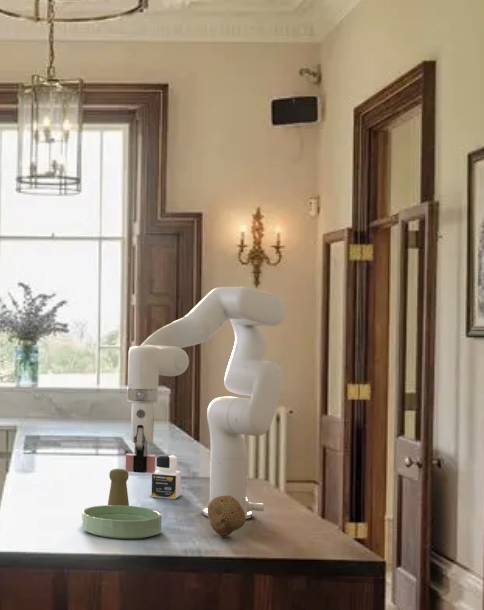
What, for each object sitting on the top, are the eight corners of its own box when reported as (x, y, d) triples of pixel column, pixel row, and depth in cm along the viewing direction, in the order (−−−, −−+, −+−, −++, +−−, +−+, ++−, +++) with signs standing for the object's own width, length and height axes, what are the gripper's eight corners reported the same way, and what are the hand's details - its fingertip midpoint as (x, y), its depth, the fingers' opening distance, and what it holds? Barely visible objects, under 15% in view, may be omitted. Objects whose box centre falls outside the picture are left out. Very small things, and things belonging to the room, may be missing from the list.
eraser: (154, 471, 248) (155, 454, 249) (154, 473, 245) (154, 456, 245) (126, 469, 250) (126, 453, 250) (125, 471, 247) (125, 454, 247)
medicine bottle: (151, 497, 293) (152, 455, 293) (157, 493, 300) (158, 452, 300) (175, 499, 290) (176, 457, 290) (180, 495, 297) (181, 454, 297)
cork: (128, 512, 270) (129, 471, 270) (105, 510, 271) (106, 470, 271) (130, 508, 276) (131, 467, 276) (108, 506, 277) (109, 466, 277)
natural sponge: (245, 534, 246) (245, 493, 246) (245, 542, 237) (245, 499, 237) (207, 531, 248) (208, 490, 248) (205, 539, 239) (206, 497, 240)
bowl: (162, 525, 254) (162, 507, 254) (159, 542, 235) (159, 523, 235) (86, 521, 258) (87, 503, 258) (77, 537, 239) (77, 518, 239)
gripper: (156, 399, 239) (154, 477, 239) (159, 394, 255) (157, 467, 255) (124, 397, 240) (122, 475, 240) (129, 393, 257) (127, 465, 256)
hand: (140, 470), depth 248 cm, fingers closed on eraser, 3 cm apart
